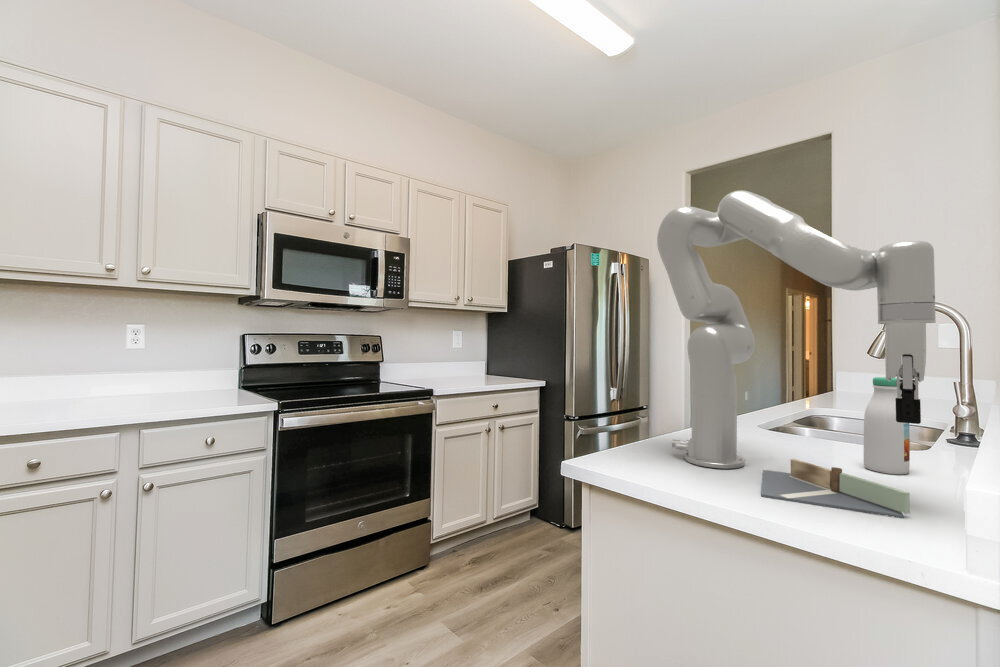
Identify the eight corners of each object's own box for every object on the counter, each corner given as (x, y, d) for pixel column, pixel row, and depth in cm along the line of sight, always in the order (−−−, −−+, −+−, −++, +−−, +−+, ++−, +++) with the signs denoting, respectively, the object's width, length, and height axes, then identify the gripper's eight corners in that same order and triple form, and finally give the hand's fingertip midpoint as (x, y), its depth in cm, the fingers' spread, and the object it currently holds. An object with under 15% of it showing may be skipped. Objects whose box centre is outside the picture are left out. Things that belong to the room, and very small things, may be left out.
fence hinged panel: (839, 491, 86) (839, 473, 86) (843, 490, 86) (843, 473, 86) (904, 513, 76) (905, 493, 76) (909, 512, 76) (909, 492, 76)
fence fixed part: (789, 478, 96) (789, 455, 96) (795, 477, 97) (795, 455, 97) (837, 495, 86) (837, 470, 86) (844, 494, 87) (844, 469, 87)
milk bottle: (896, 477, 97) (896, 380, 98) (855, 467, 105) (855, 377, 105) (917, 472, 101) (917, 378, 101) (876, 463, 108) (876, 375, 108)
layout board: (761, 496, 85) (761, 494, 85) (763, 471, 101) (763, 469, 101) (904, 518, 75) (904, 515, 75) (882, 487, 91) (882, 484, 91)
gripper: (879, 317, 89) (881, 414, 89) (876, 314, 78) (878, 426, 78) (933, 315, 84) (935, 418, 84) (938, 312, 73) (941, 431, 73)
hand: (908, 422), depth 81 cm, fingers closed
